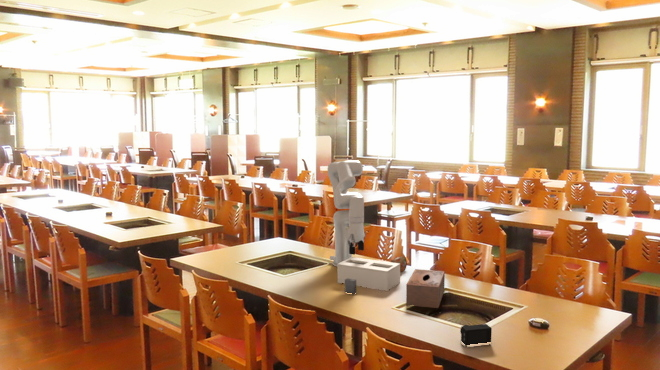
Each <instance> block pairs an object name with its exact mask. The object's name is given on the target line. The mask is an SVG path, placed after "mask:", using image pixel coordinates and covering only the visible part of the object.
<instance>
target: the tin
mask: <svg viewBox="0 0 660 370" xmlns="http://www.w3.org/2000/svg"><path fill="white" fill-rule="evenodd" d="M390 262H392V263H400V274H402V273H403V272H406V269H407V267H408V265H407V264H408V262H407V259H406V257H405V256H396V258H393V259H391V261H390Z"/></svg>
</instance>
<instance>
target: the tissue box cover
mask: <svg viewBox="0 0 660 370" xmlns="http://www.w3.org/2000/svg"><path fill="white" fill-rule="evenodd" d="M445 273H446V272H445V271H444V270H432V269H431V270H430V269H418V268H417V269H416V268H415V269H414V270H413V272H412V273H411V276H410V277H409V279H408V281H407V282H406V285H405V286H406V290H405V291H406V292H405V294H406V295H405V299H406V301H405V304H407V305H406V306H410V305H414V307H421V308H431V309H439V307H440V305H441V301H442V298H443V296H444V293H445V278H446V277H445V275H446V274H445ZM443 292H444V293H443Z"/></svg>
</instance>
